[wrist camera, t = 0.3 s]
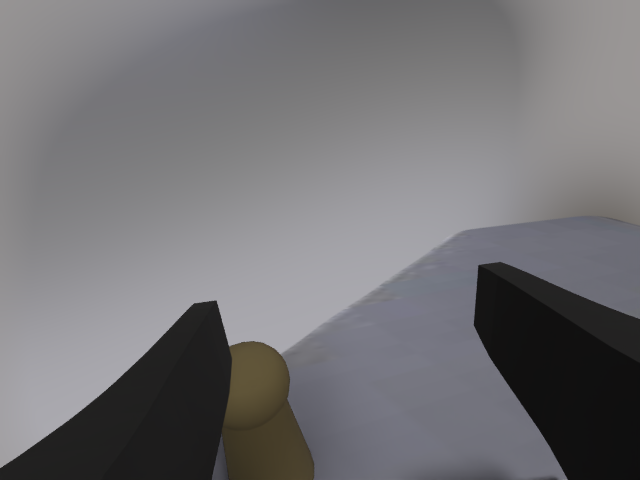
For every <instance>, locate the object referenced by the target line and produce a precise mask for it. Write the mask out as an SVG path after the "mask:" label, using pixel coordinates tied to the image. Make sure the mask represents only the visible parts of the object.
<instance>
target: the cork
mask: <svg viewBox="0 0 640 480" xmlns="http://www.w3.org/2000/svg"><path fill="white" fill-rule="evenodd" d="M229 349H230V352H231V356H232V369H231V382H230V393H229V398H228V403H227V408H226V413H225V418H224V423H223V428H222V437H223V443H224V450H225V456H226V463H227V470H228V476H229V480H313V478H314V462H313V459H312V456H311V453H310V450H309V448H308V446H307V444H306V441H305V439H304V437H303V434H302V432H301V430H300V428H299V425H298V423H297V421H296V418H295V416H294V414H293V411H292V409H291V407H290V405H289V402H288V400H287V397H288V393H289V384H290V376H289V371H288V368H287V365H286V362H285V361H284V359H283V357H282V356H281V355H280V354H279V353H278V352H277V351H276V350H275V349H274V348H272V347H270V346H268V345H266V344H264V343H261V342H254V341H251V342H242V343H239V344H235V345H232V346H230V347H229Z"/></svg>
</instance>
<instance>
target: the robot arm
mask: <svg viewBox="0 0 640 480" xmlns="http://www.w3.org/2000/svg"><path fill="white" fill-rule="evenodd" d="M474 327H475V329H476V331H477V333H478V335H479V337H480V339H481V341H482V343H483V345H484V347H485V349H486V351H487V353H488V355H489V357H490V358H491V360H492V361H493V363H494V364H495V366H496V367H497V369H498V370H499V372H500V373H501V375H502V376H503V378H504V379H505V381H506V382H507V384H508V385H509V387H510V388H511V389H512V391H513V392H514V394H515V395H516V397H517V398H518V400H519V401H520V403H521V404H522V405H523V407H524V408H525V410H526V411H527V413H528V414H529V416H530V417H531V419H532V420H533V422H534V423H535V424H536V426H537V427H538V429H539V430H540V432H541V434H542V435H543V437H544V438H545V440H546V442H547V443H548V445H549V446H550V448H551V450H552V452H553V453H554V455H555V457H556V459H557V461H558V462H559V464H560V466H561V468H562V470H563V472H564V473H565V475H566V477H567V479H568V480H640V319H638V318H635V317H632V316H629V315H627V314H624V313H621V312H619V311H616V310H614V309H611V308H609V307H606V306H603V305H601V304H598V303H596V302H593V301H591V300H589V299H586V298H584V297H581V296H579V295H577V294H574V293H572V292H570V291H567V290H565V289H563V288H561V287H558V286H556V285H554V284H552V283H549V282H547V281H545V280H543V279H540V278H538V277H536V276H534V275H531V274H529V273H527V272H524V271H522V270H520V269H517V268H515V267H513V266H510V265H507V264H505V263H502V262H498V263H490V264H483V265H478V278H477V291H476V304H475V317H474ZM231 369H232V356H231V352H230V349H229V345H228V341H227V338H226V334H225V330H224V327H223V323H222V319H221V315H220V312H219V308H218V304H217V301H209V302H202V303H194V304H193V305H192V306H191V307H190V308H189V309H188V310H187V311H186V312H185V313H184V314H183V315H182V316H181V317H180V318H179V319H178V321H176V322H175V324H174V325H173V326H172V327H171V328H170V329H169V330H168V331H167V332H166V333H165V334H164V335H163V336H162V337H161V338H160V339H159V340H158V341H157V342H156V343H155V344H154V345H153V346H152V347H151V348H150V350H149V351H148V352H147V353H146V354H145V355H143V357H141V358H140V359H139V360H138V361H137V362H136V363H135V364H134V365H133V366H132V367H131V368H130V369H129V370H128V371H127V372H125V373H124V374H123V375H122V376H121V377H120V378H119V379H118V380H117V381H116V382H115V383H114V384H113V385H111V386H110V387H109V388H108V389H107V390H106V391H104V392H103V393H102V394H101V395H100V396H99V397H97V398H96V399H95V400H94V401H93V402H91V403H90V404H89V405H88V406H86V407H85V408H84V409H83V410H82V411H80V412H79V413H78V414H76V415H75V416H74V417H73V418H71V419H70V420H69V421H67V422H66V423H65V424H63V425H62V426H60V427H59V428H58V429H56V430H55V431H53V432H52V433H51V434H49V435H48V436H46V437H45V438H44V439H42V440H41V441H40V442H38V443H37V444H35V445H34V446H32V447H31V448H30V449H28V450H27V451H25V452H24V453H23V454H21V455H20V456H18V457H17V458H15V459H14V460H13V461H11V462H9V463H8V464H6V465H4V466H3V467H2V468H0V480H212V475H213V470H214V465H215V461H216V456H217V451H218V446H219V442H220V437H221V432H222V428H223V423H224V418H225V413H226V408H227V403H228V398H229V393H230V382H231Z"/></svg>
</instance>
